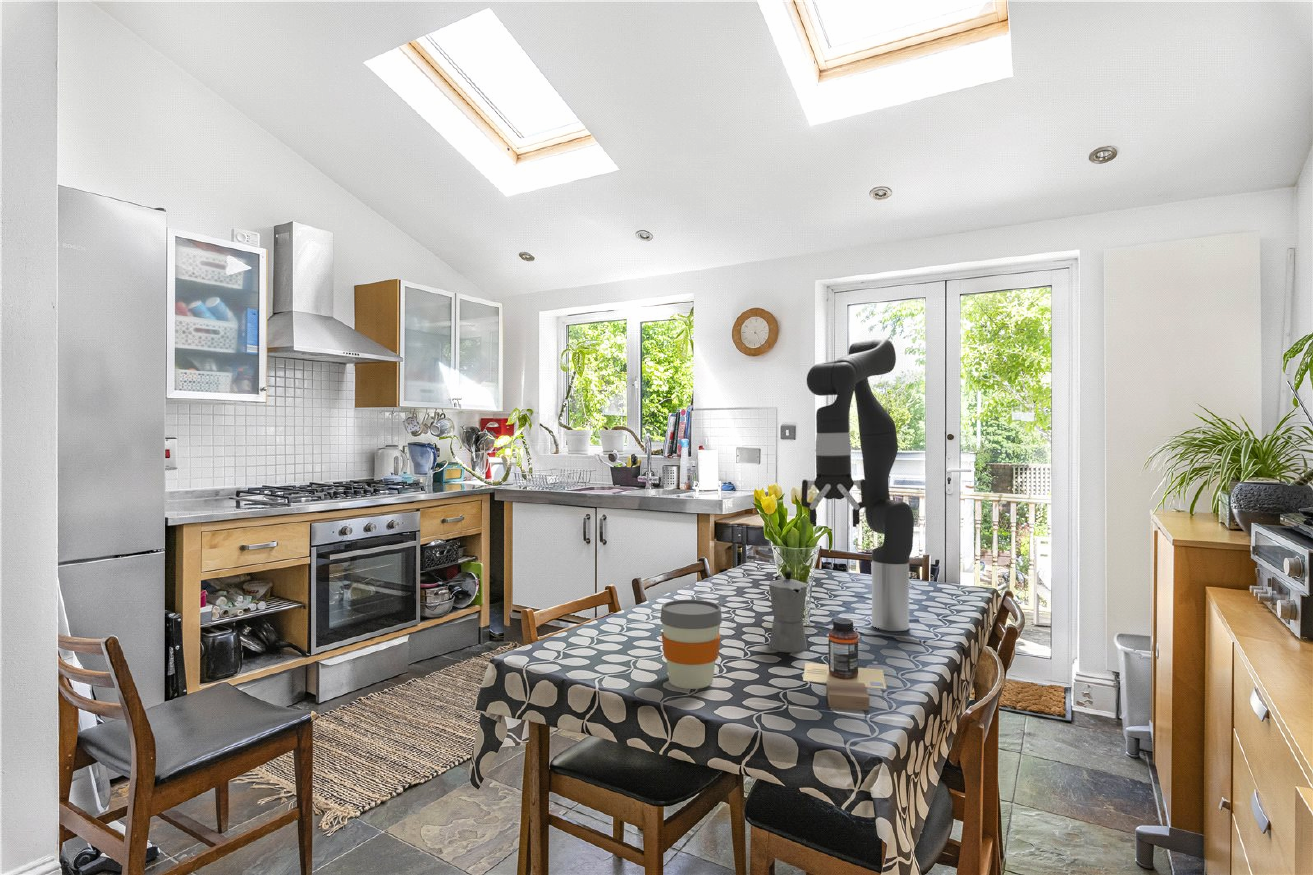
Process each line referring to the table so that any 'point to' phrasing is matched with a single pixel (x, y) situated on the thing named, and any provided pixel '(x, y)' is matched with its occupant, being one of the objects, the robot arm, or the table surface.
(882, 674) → the letter
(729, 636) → the table surface
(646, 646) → the table surface
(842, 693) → the block
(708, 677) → the reusable coffee cup
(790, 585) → the coffeepot
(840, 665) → the supplement bottle
